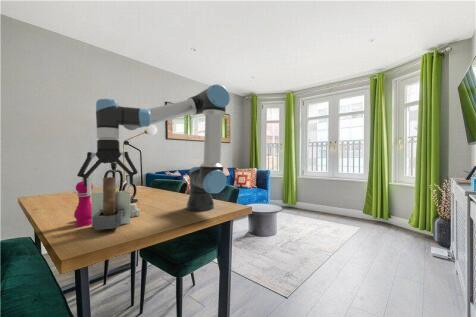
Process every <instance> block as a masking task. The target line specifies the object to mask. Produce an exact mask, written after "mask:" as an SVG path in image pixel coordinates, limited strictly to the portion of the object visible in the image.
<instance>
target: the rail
mask: <svg viewBox="0 0 476 317" xmlns="http://www.w3.org/2000/svg"><path fill="white" fill-rule="evenodd" d="M115 191H116V177H115V176H113V177H111V176H110V177H103V178H102V192H103V216H104V215H115Z"/></svg>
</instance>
